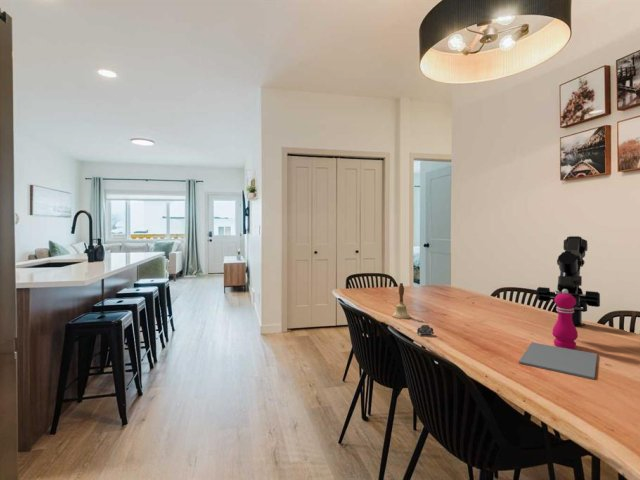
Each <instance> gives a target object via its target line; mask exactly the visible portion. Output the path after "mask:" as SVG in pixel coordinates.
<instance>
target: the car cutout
mask: <svg viewBox="0 0 640 480" xmlns="http://www.w3.org/2000/svg"><path fill="white" fill-rule="evenodd" d="M416 331H417V332H416V334H417V335H418V336H433V335H434V334H435V333H434V328H433V327H430V325H429V324H422V325H420V327H417V329H416Z"/></svg>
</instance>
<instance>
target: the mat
mask: <svg viewBox="0 0 640 480" xmlns="http://www.w3.org/2000/svg"><path fill="white" fill-rule="evenodd" d="M597 359H598V353H595V352H589V351H583V350H577V349H567V348H561V347H557V346H555V345H549V344H542V343H537V342H533V341H531V343H530V344H529V346H528V348H526V350H525V352H524V353H523V355H522V357H521V358H520V359H519V361H518V364H521V365H526V366H530V367H535V368H538V369H545V370H548V371H551V372H552V371H553V372H558V373H562V374H566V375H567V374H568V375H571V376H577V377H580V378H581V377H582V378H584V379H590V380H595V379H596V378H595V377H596V368H597Z"/></svg>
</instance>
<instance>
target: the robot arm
mask: <svg viewBox="0 0 640 480" xmlns="http://www.w3.org/2000/svg"><path fill="white" fill-rule="evenodd" d="M562 247H563V250H564V251H563V252H561V254H559V255H558V257H557V259H556V263H557V265H558V268H559V271H560V273H559V275H558V278H557V285H556V289H557V290H555V291H551V290H550V287H546V286H544V287H543V286H538V287H537V288H536V297H537V298H536V299H537V301H540V302H549V301H551V298H554V299H555V297H556V296H557V295H558V294H561V293H562V290H563V289H567V290H568V294H570V295H572V296H573V297H574V298H575V300H576V304H575V306H574V307H573V308H574V313H572V321H573V324H574V326H575V328H576V327H580V326H581V327H582V326H586V323H583V322H582V321H583V320H582V315H583V314H582V312H583V313H585V312H588V307H594V308H595V307H596V308H600V307H601V294H600V292H599V291H592V290H591V291H590V290H585V293H583V289H582V288H581V287H582V282H583V281H582V276H581V267H584V265H585V263H586V262H585V260H584V258H585V257H586V252H587V251H588V247H589V246H588V240H586V239H584V238H582V236H578V235H577V236H574V235H573V236H572V235H571V236H570V235H569V236H567V237H566V239H564V240H563V246H562ZM580 286H581V287H580Z"/></svg>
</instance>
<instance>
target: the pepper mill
mask: <svg viewBox="0 0 640 480" xmlns="http://www.w3.org/2000/svg"><path fill="white" fill-rule="evenodd" d="M554 303H555V305H556V309H555V310H556V312H557V320H556V322H555V324H554V326H553V327H552V331H551V333H552V335H553V337H554V339H553V346H555V347H561V348H567V349H572V350H576V348H577V342H576V340H577V339H578V337H579V335H578V330H577V328H576V327H575V326H574V324H573V321H572V313H574V308H573V307H574V306H575V304H576V300H575V298H574V297H573V296H572V295H570V294H568V290H567V289H563V290H562V293H561V294H558V295H557V296H556V297H555V298H554Z"/></svg>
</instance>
